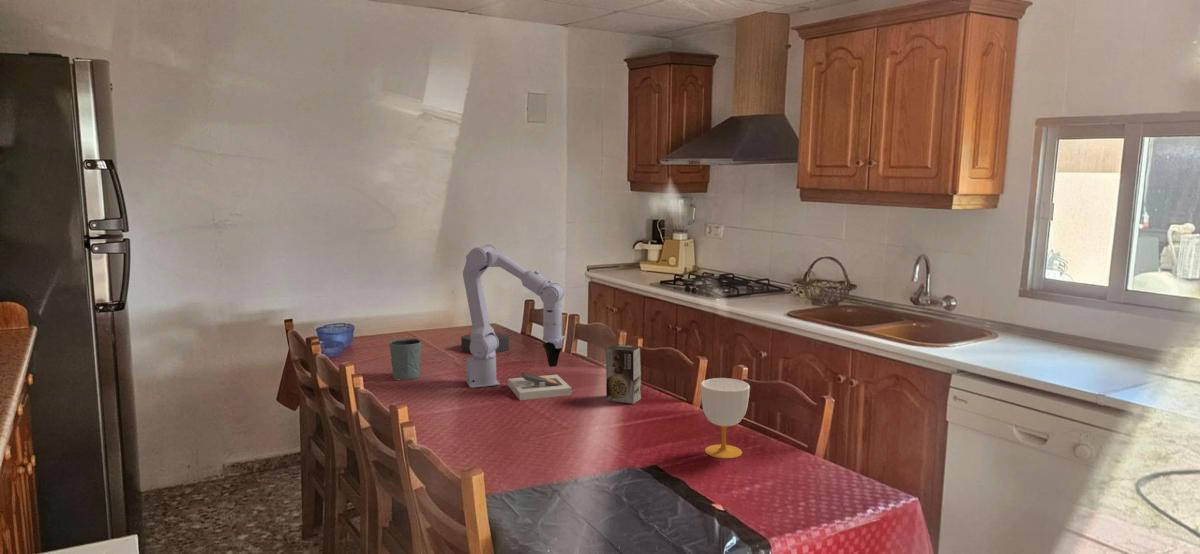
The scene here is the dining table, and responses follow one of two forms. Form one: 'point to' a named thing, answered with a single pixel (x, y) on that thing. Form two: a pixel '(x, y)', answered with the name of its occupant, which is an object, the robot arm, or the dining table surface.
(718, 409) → the cup
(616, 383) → the coffee box
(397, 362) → the green plant pot
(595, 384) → the dining table surface
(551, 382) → the rocker
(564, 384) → the breaker housing
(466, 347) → the streaming box
